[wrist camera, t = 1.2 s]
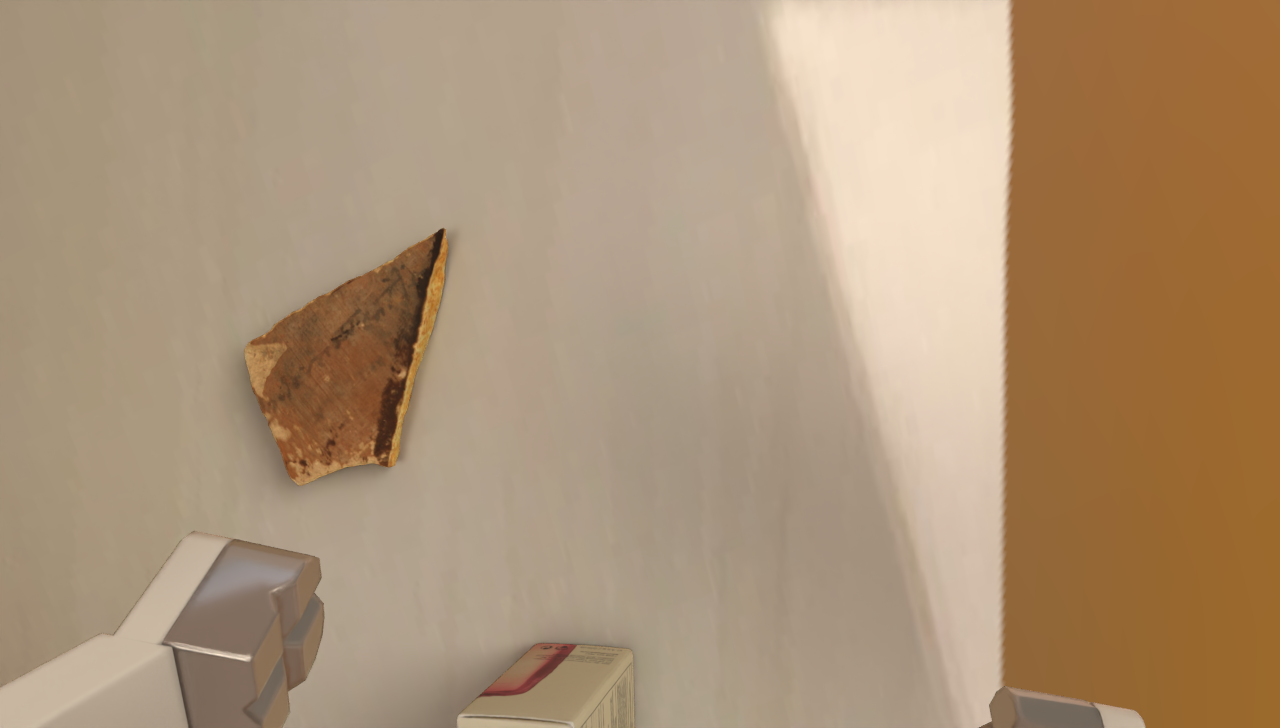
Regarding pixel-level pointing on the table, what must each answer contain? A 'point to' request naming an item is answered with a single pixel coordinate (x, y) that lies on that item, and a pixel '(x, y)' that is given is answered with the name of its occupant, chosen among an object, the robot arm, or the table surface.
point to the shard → (349, 365)
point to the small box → (559, 690)
